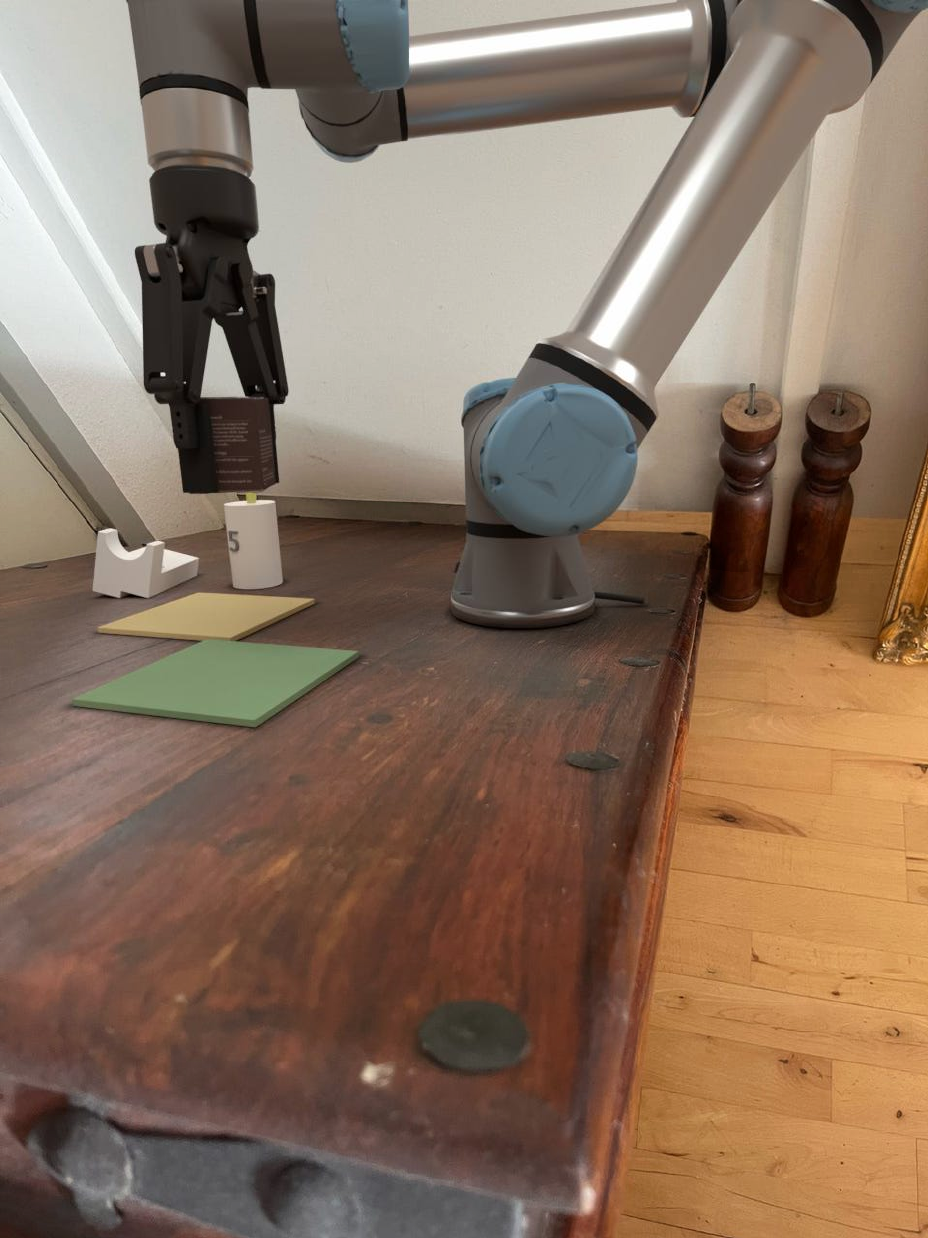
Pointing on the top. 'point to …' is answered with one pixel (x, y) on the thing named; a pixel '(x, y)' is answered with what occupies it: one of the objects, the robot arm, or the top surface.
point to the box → (241, 443)
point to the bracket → (138, 567)
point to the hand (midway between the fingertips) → (234, 487)
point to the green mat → (220, 682)
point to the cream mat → (208, 617)
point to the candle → (253, 543)
